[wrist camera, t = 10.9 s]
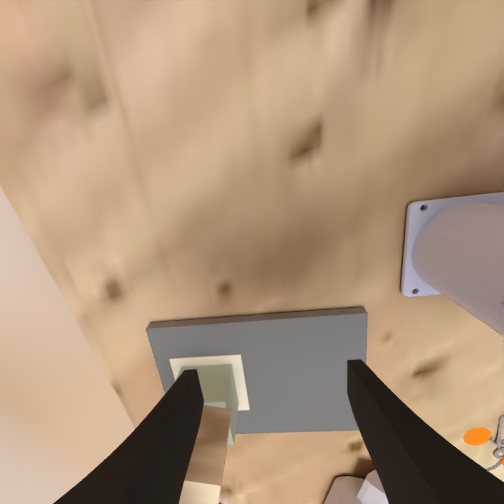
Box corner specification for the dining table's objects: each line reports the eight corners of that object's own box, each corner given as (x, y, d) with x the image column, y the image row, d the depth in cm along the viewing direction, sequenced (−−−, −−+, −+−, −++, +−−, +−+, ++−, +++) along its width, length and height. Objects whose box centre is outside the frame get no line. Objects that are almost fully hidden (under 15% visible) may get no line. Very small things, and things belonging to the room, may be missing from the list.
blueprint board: (363, 306, 21) (368, 313, 20) (360, 420, 26) (364, 430, 25) (150, 322, 23) (145, 329, 22) (180, 426, 28) (177, 436, 27)
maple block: (231, 409, 19) (220, 485, 15) (226, 450, 21) (214, 532, 16) (170, 400, 19) (139, 474, 15) (170, 442, 21) (142, 521, 16)
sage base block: (231, 363, 23) (225, 401, 19) (238, 403, 24) (233, 445, 21) (181, 366, 23) (165, 404, 20) (191, 405, 25) (178, 446, 21)
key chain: (467, 408, 25) (473, 416, 24) (542, 410, 24) (552, 418, 24) (441, 487, 29) (445, 496, 28) (505, 490, 28) (512, 499, 28)
